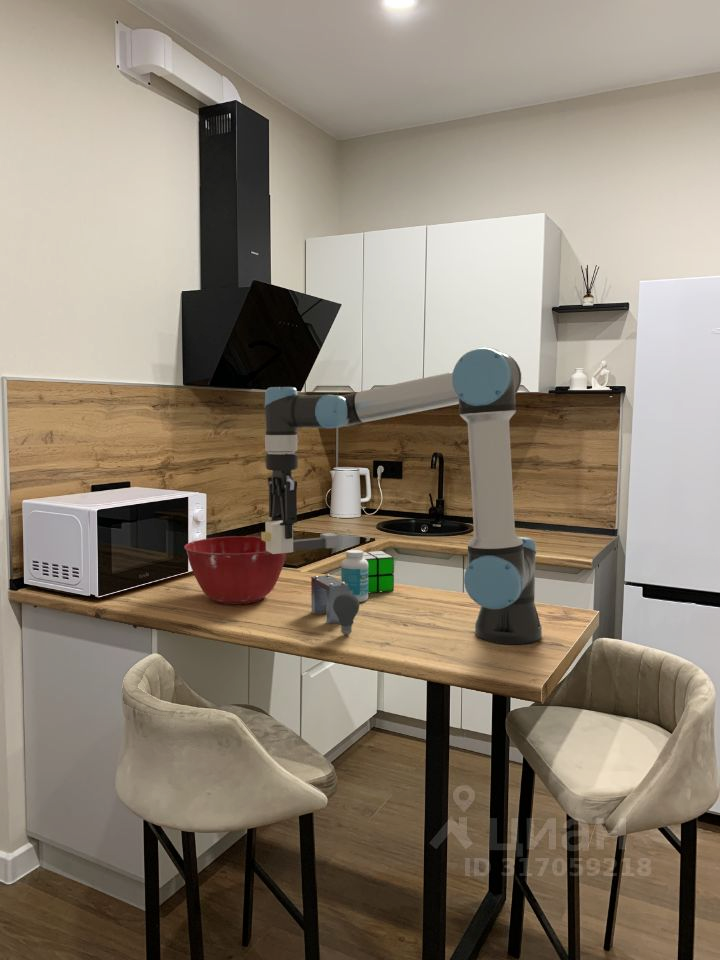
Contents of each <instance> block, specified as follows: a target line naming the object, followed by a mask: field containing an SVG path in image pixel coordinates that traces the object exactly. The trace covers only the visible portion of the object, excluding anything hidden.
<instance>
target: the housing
mask: <svg viewBox="0 0 720 960" xmlns="http://www.w3.org/2000/svg"><path fill="white" fill-rule="evenodd" d="M310 580H311V582H310V583H311V584H310V585H311V592H310V594H311V597H310V598H311V599H310V600H311V601H310V602H311V613H312V614H313V615H321V614H326V623H328V624H329V625H333V624H340V623H339V619H338V616H337V615H336V613H335V612H334V609H333V603H334V600H335V598H336V597H337V596H338V595H340V594H342V593H348V584H346V583H345V582H342V581H341V580H340V579H337V578H336V577H334V576H332V575H331V574H329V573H327V574H325V575H314V576H311V579H310Z"/></svg>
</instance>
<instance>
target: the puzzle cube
mask: <svg viewBox="0 0 720 960" xmlns="http://www.w3.org/2000/svg"><path fill="white" fill-rule="evenodd" d="M362 558H363V559H365V560H367V562H368V594H370V593H369V592H376V593H381V592H380V591H387V592H393V591H394V590H395V589H394V588H395V581H394V580H395V577H394V576H395V575H394V572H395V567H394V565H395V563H394V562H395V561H394V560H395V558H394V557H393V556H391V555H390V554H388V553H386V552H384V551H383V550H378V551H377V550H376V551H363V557H362ZM377 591H378V592H377Z"/></svg>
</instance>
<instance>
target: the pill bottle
mask: <svg viewBox="0 0 720 960" xmlns="http://www.w3.org/2000/svg"><path fill="white" fill-rule="evenodd" d="M363 552H364V551H363V550H362V549H361V550H360V549H350V550H346V553H345V554H346V555H345V556H346V558H344V559H342V562H341V564H340V565H341V566H340V567H341V569H340V571H341V572H340V573H341V575H340V577H341V578H340V579H341V580H340V581H342V582H345V583H346V584H348V593H351V594H353V595H354V596H355V597H356V598H357V599H358V601H359V603H363V602H365V601H367V600H368V599H369V593H368V562H367V560H365V559H363V558H362V557H363Z"/></svg>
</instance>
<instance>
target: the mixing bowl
mask: <svg viewBox="0 0 720 960" xmlns="http://www.w3.org/2000/svg"><path fill="white" fill-rule="evenodd" d="M183 547H184V549H185V551H186V555H187V557H188V558H187V559H188V562H189V565H190V567H191V570H192V573H193V575H194V577H195V580H196V582H197V584H198V585H199V587H200V589H201V591H202V592H203V593H204V594H205V595H206V596H207V597H208V598H209V599H212V600H213V601H214V602H216V603H218V604H224V605H245V604H252V603H256V602H259V601H261V600H262V599H264V597H266V596H268V595H269V594H270V593H271V591H272V590H274V588H275V585H277V584H276V583H277V581H278V580H279V578H280V575H281V573H282V570H283V567H284V564H285V560H286V557H287V554H288V553H279V554H272V553H270V552H268V551H266V541H263V540H261V535H260V536H259V535H257V536H255V535H252V536H251V535H249V536H248V535H243V536H242V535H239V536H238V535H236V536H235V535H234V536H233V535H231V536H220V537H219V536H218V537H211V538H204V539H203V538H202V539H199V540H198V539H197V540H195V541H194V540H193V541H190V542H189V543H186V544H185V545H184V546H183Z"/></svg>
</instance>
